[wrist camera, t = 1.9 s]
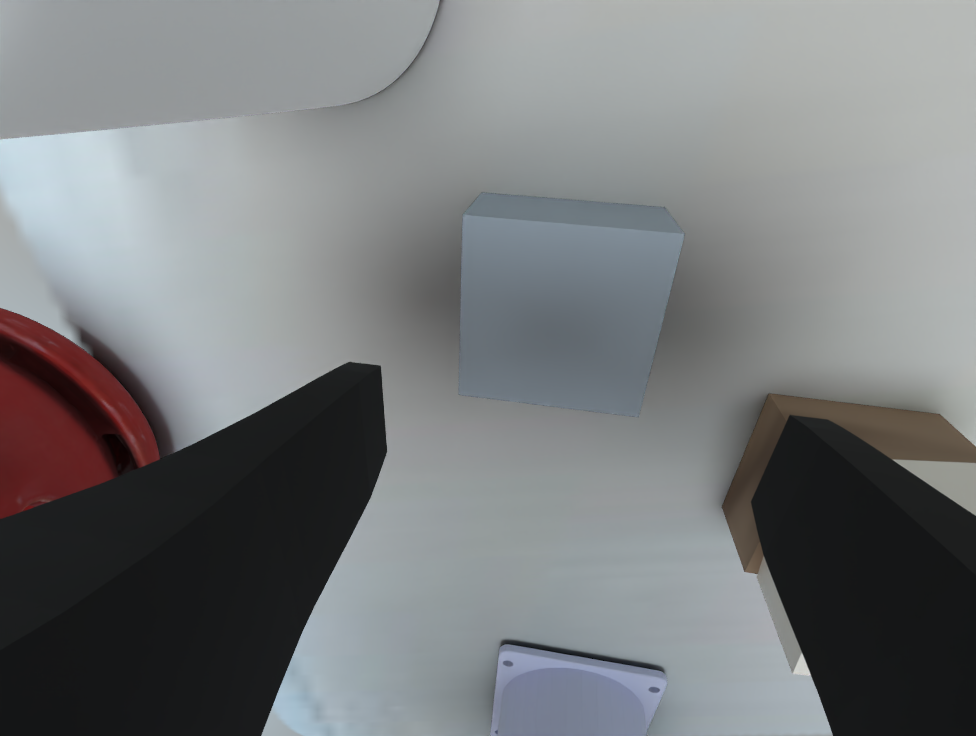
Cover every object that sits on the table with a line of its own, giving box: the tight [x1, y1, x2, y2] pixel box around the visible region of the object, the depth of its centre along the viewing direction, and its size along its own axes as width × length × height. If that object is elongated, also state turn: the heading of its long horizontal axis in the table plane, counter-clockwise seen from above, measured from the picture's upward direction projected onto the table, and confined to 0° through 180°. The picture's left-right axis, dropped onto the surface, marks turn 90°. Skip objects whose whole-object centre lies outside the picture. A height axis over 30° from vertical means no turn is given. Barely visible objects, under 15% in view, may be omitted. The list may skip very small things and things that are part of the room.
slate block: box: [459, 193, 685, 417], centre depth 14 cm, size 5×5×3 cm
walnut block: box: [722, 394, 976, 574], centre depth 15 cm, size 5×5×3 cm
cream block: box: [757, 459, 976, 676], centre depth 13 cm, size 5×5×3 cm
